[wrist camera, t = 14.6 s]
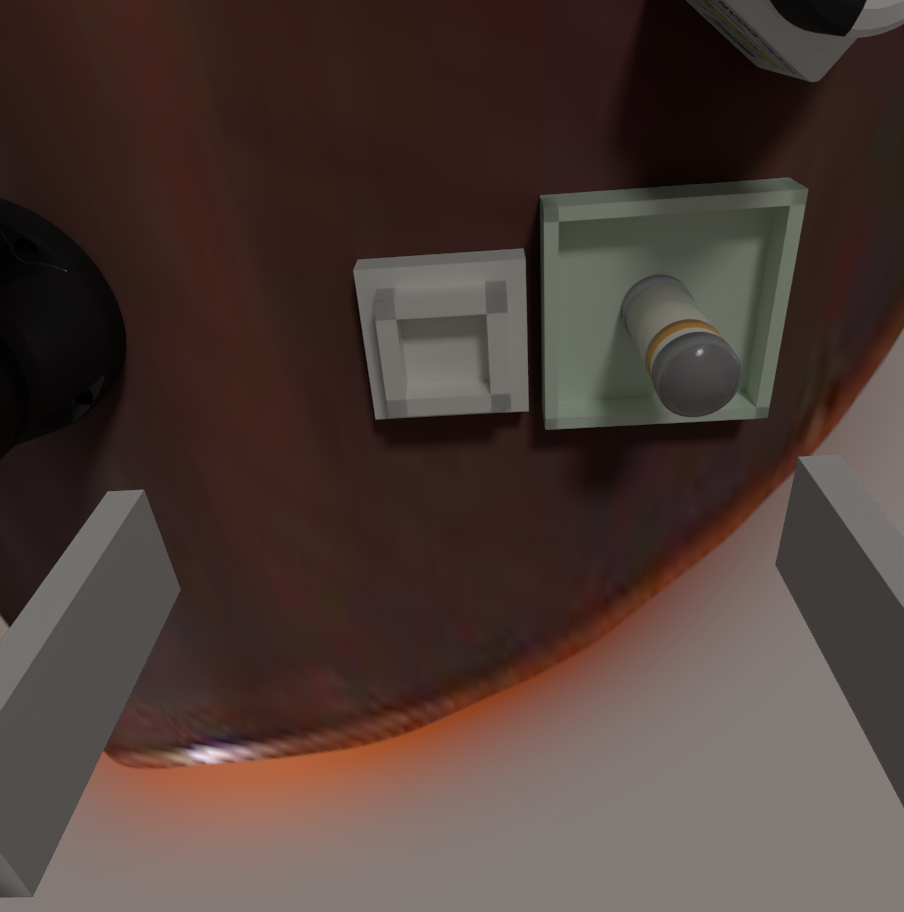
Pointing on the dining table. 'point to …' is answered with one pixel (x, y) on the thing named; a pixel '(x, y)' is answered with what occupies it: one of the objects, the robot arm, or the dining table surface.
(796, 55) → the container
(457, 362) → the holder
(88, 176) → the dining table surface
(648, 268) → the tray
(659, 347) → the fuse
